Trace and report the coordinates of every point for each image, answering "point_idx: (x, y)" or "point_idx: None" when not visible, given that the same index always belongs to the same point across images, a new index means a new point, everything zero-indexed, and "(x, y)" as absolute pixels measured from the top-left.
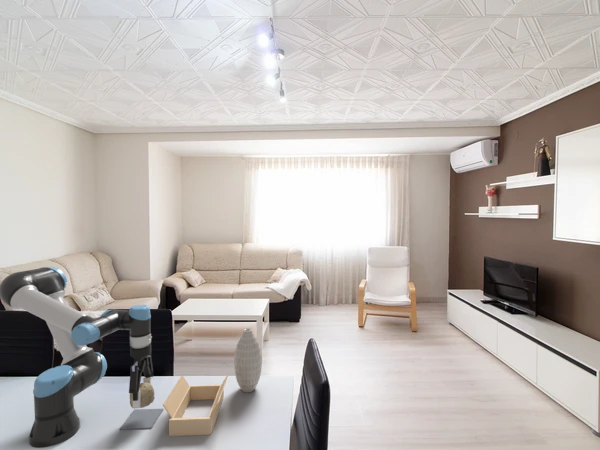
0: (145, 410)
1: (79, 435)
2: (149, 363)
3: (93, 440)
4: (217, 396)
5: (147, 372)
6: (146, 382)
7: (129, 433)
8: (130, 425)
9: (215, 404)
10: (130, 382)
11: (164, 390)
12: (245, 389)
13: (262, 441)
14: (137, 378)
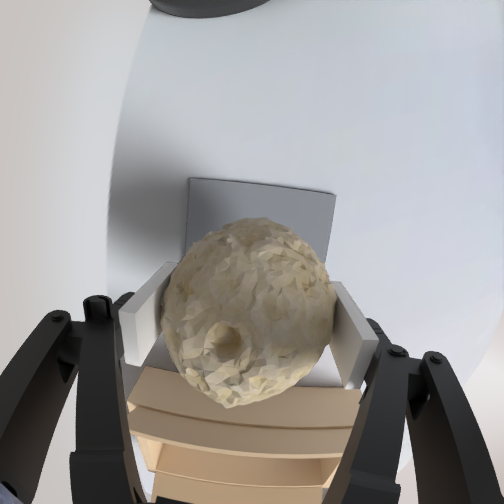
0: (316, 252)
1: (184, 36)
2: (423, 475)
3: (141, 103)
4: (244, 493)
5: (356, 422)
6: (287, 378)
7: (162, 231)
8: (206, 219)
9: (175, 496)
10: (11, 370)
11: (449, 285)
12: (322, 490)
13: (148, 482)
14: (45, 439)
